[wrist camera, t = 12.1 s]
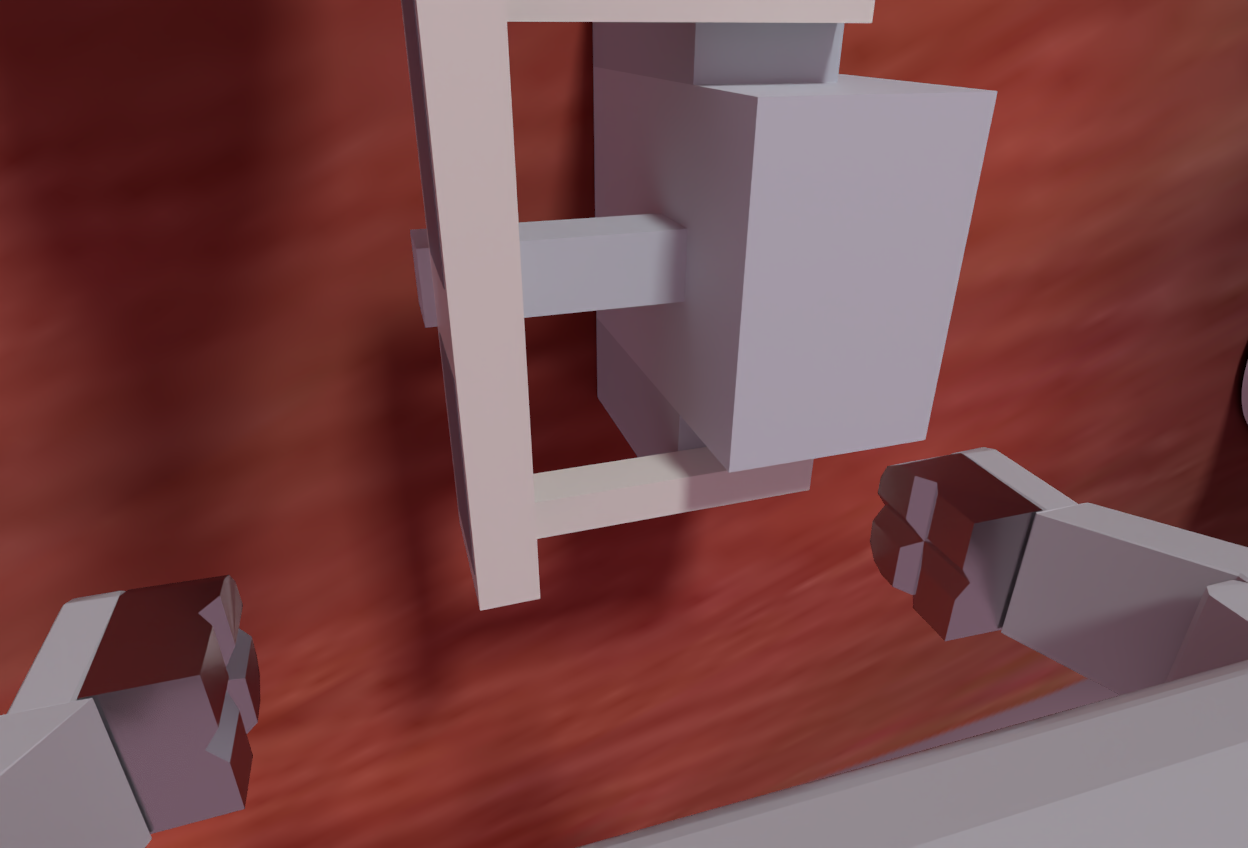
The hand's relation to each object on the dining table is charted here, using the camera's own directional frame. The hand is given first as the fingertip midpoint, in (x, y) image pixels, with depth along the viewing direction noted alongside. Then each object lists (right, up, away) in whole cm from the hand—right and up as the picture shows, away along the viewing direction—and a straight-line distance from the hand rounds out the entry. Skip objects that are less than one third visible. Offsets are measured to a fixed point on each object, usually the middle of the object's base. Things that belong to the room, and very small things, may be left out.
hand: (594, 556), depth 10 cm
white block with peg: (-1, +10, +19) cm, 21 cm away
